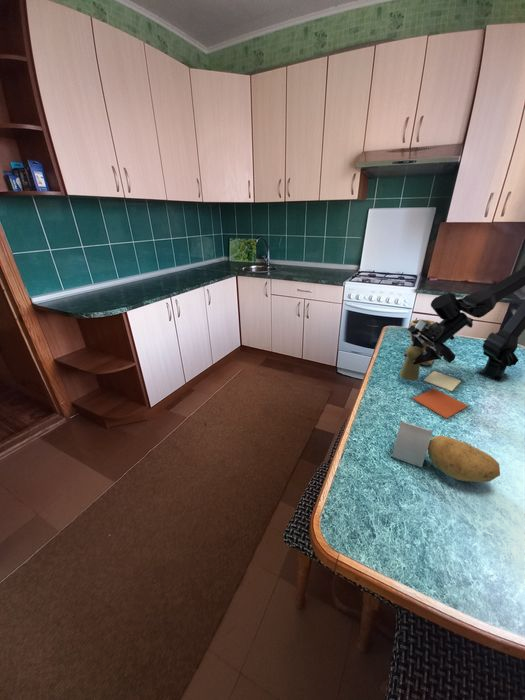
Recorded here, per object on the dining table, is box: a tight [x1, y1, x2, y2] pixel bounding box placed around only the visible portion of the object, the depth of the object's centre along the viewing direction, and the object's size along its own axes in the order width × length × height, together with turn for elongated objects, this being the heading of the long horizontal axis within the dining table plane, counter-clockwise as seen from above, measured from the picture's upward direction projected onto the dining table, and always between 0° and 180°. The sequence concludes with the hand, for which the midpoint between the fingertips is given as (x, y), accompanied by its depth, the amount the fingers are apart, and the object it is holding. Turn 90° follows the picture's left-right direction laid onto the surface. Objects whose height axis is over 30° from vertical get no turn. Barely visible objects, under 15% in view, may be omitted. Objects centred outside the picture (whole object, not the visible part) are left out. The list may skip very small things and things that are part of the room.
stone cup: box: [408, 319, 436, 366], centre depth 114 cm, size 15×12×15 cm
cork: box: [399, 346, 423, 382], centre depth 99 cm, size 6×6×11 cm
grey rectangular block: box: [391, 420, 433, 468], centre depth 70 cm, size 4×7×10 cm, turn 59°
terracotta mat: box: [412, 387, 468, 420], centre depth 91 cm, size 11×11×1 cm
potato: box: [427, 434, 501, 483], centre depth 66 cm, size 10×14×8 cm
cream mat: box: [423, 370, 462, 393], centre depth 102 cm, size 9×9×1 cm
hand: (408, 359), depth 98 cm, fingers closed on cork, 5 cm apart
